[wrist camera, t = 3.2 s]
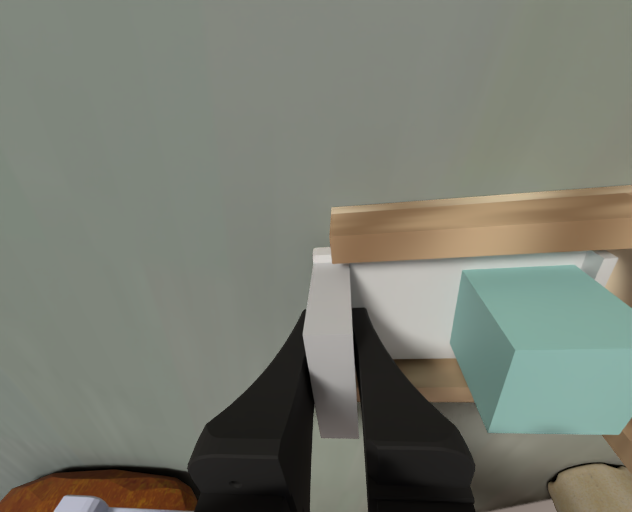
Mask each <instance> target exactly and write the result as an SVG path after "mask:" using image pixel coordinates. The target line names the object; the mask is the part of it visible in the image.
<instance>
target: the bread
mask: <svg viewBox="0 0 632 512" xmlns="http://www.w3.org/2000/svg"><path fill="white" fill-rule="evenodd" d="M66 495H83V496H95V497H98V498H101V499H102V500H104V501H105V502H106V503H107V505H108V507H117V508H137V509H158V510H178V511H194V510H195V507H196V505H197V502H198V500H197V498H196V496H195V495H194V493H193V491H192V489H191V487H189V486H188V485H186V484H185V483H183V482H182V481H180V480H179V479H177V478H176V477H169V476H162V475H154V474H146V473H139V472H131V471H123V470H115V469H112V470H96V471H80V472H64V473H53V474H50V475H47V476H45V477H42V478H39V479H37V480H34V481H31V482H29V483H26V484H24V485H21V486H18V487H16V488H13V489H12V490H11V491H10V492H9V493H8V494H7V495H6V496H5V497H4V498H3V499H2V500H1V502H0V512H54V510H55V509H56V507H57V506H58V504H59V503H60V501H61V500H62V498H63V497H64V496H66Z"/></svg>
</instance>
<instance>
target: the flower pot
mask: <svg viewBox="0 0 632 512" xmlns="http://www.w3.org/2000/svg"><path fill="white" fill-rule="evenodd" d="M548 491H549V494H550V496H551V498H552V500H553V503H554V505H555V508H556V510H557V512H632V474H631V473H630V472H629V470H628V469H627V468H626V467H624V466H620V467H619V468H614V467H610V466H608V465H605V464H587V465H583V466H579V467H575V468H570V469H567V470H565V471H563V472H561V473H559V474H558V477H557V479H556V481H555V482H549V483H548Z"/></svg>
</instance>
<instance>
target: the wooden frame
mask: <svg viewBox="0 0 632 512" xmlns="http://www.w3.org/2000/svg"><path fill="white" fill-rule="evenodd" d="M330 247H331V258H332V264H342V263H362V262H381V261H400V260H419V259H438V258H457V257H476V256H495V255H514V254H533V253H552V252H572V251H591V250H607V251H608V252H610V253H611V254H613V255H615V256H616V257H618V260H617V263H616V265H615V267H614V269H613V271H612V273H611V275H610V277H609V279H608V281H607V283H606V286H605V288H606V289H607V290H608V291H610V292H611V293H612V294H614V295H615V296H616V297H618V298H619V299H620V300H622V301H623V302H624V303H626V304H627V305H628V306H630V307H631V308H632V185H625V186H612V187H599V188H585V189H572V190H559V191H546V192H532V193H519V194H506V195H492V196H479V197H466V198H452V199H439V200H426V201H412V202H399V203H386V204H373V205H359V206H346V207H333V208H332V210H331V223H330ZM393 360H394V362H395V363H396V365H397V366H398V367H399V368H400V370H401V371H402V372H403V374H404V375H405V376H406V377H407V378H408V380H409V381H410V382H411V383H412V384H413V385H414V386H415V388H416V389H417V390H418V391H419V392H420V393H421V394H422V395H423V396H424V397H425V398H426V399H427V400H428V401H429V402H474V399H473V397H472V394H471V392H470V390H469V387H468V385H467V383H466V380H465V378H464V376H463V373H462V371H461V369H460V366H459V364H458V362H457V359H456V358H443V359H393ZM355 373H356V369H355ZM356 392H357V402H360V395H359V389H358V382H357V375H356ZM602 436H603V437H604V438H605V440H606V441H607V442H608V444H609V445H610V446H611V448H612V449H613V450H614V452H615V453H616V454H617V456H618V457H619V458H620V460H621V461H622V462H623V464H624V465H625V466H626V468H627V469H628V470H629V472H630V473H631V474H632V418H631V419H630V421H629V422H628V423H627V425H626V426H625V427H624V429H623V430H622V431H621V433H620V434H619V435H602Z"/></svg>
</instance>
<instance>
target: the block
mask: <svg viewBox="0 0 632 512" xmlns="http://www.w3.org/2000/svg"><path fill="white" fill-rule="evenodd" d="M450 345H451V347H452V350H453V352H454V355H455V357H456V359H457V362H458V364H459V366H460V369H461V371H462V373H463V376H464V378H465V380H466V383H467V385H468V387H469V390H470V392H471V394H472V397H473V399H474V402H475V404H476V406H477V409H478V411H479V413H480V416H481V418H482V420H483V423H484V425H485V427H486V430H487V432H488V433H529V434H596V435H619V434H620V433H621V431H622V430H623V429H624V427H625V426H626V425H627V423H628V422H629V421H630V419H631V418H632V308H631V307H630V306H628V305H627V304H626V303H624V302H623V301H622V300H620V299H619V298H618V297H616V296H615V295H614V294H612V293H611V292H610V291H608V290H607V289H606V288H605V287H603V286H602V285H601V284H599V283H598V282H597V281H595V280H594V279H593V278H591V277H590V276H589V275H587V274H586V273H585V272H583V271H582V270H581V269H580V268H578V267H577V266H576V265H556V266H535V267H514V268H493V269H472V270H462V274H461V280H460V285H459V291H458V297H457V303H456V309H455V315H454V321H453V326H452V332H451V338H450Z"/></svg>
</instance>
